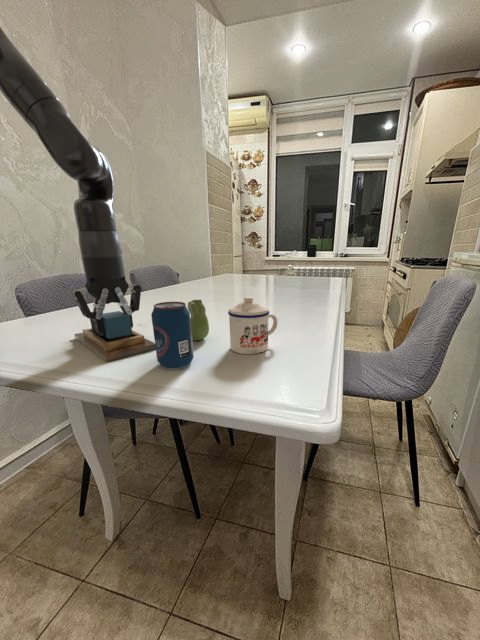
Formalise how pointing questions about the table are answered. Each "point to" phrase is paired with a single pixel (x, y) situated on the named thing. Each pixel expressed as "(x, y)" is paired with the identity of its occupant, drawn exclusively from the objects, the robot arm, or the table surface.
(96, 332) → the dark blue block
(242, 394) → the table surface
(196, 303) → the pear
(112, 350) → the frame
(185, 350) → the soda can
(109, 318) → the teal block
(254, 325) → the teacup with lid
